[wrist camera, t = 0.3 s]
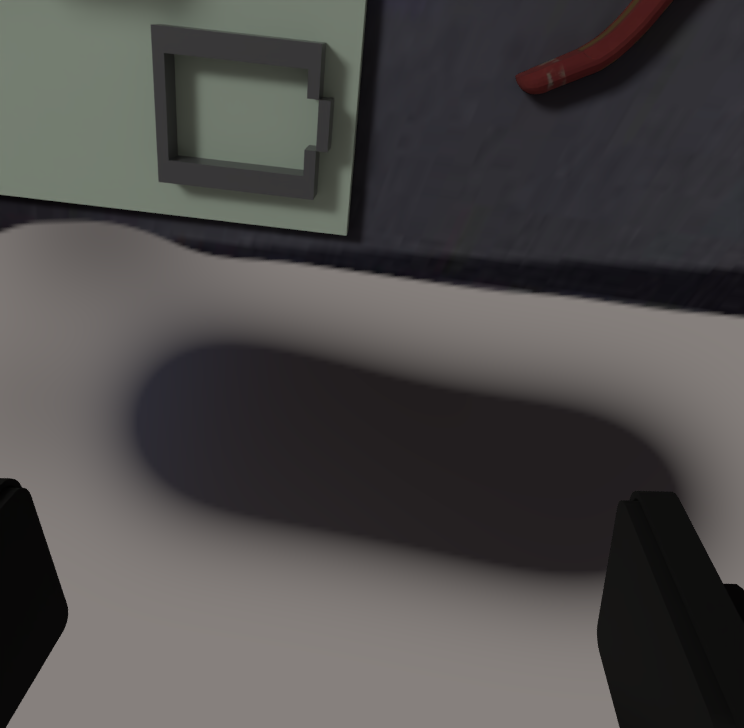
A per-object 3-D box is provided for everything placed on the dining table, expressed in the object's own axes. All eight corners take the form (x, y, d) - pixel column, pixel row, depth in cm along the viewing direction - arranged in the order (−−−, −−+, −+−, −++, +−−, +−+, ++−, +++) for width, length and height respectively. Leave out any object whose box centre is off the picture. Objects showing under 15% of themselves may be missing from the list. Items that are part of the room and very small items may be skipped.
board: (-100, -258, 30) (-126, -271, 29) (384, -208, 30) (382, -218, 28) (-22, 186, 40) (-39, 193, 38) (348, 230, 39) (345, 238, 38)
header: (161, 24, 34) (150, 24, 33) (338, 43, 34) (334, 45, 32) (168, 175, 37) (158, 181, 36) (328, 194, 37) (324, 201, 36)
